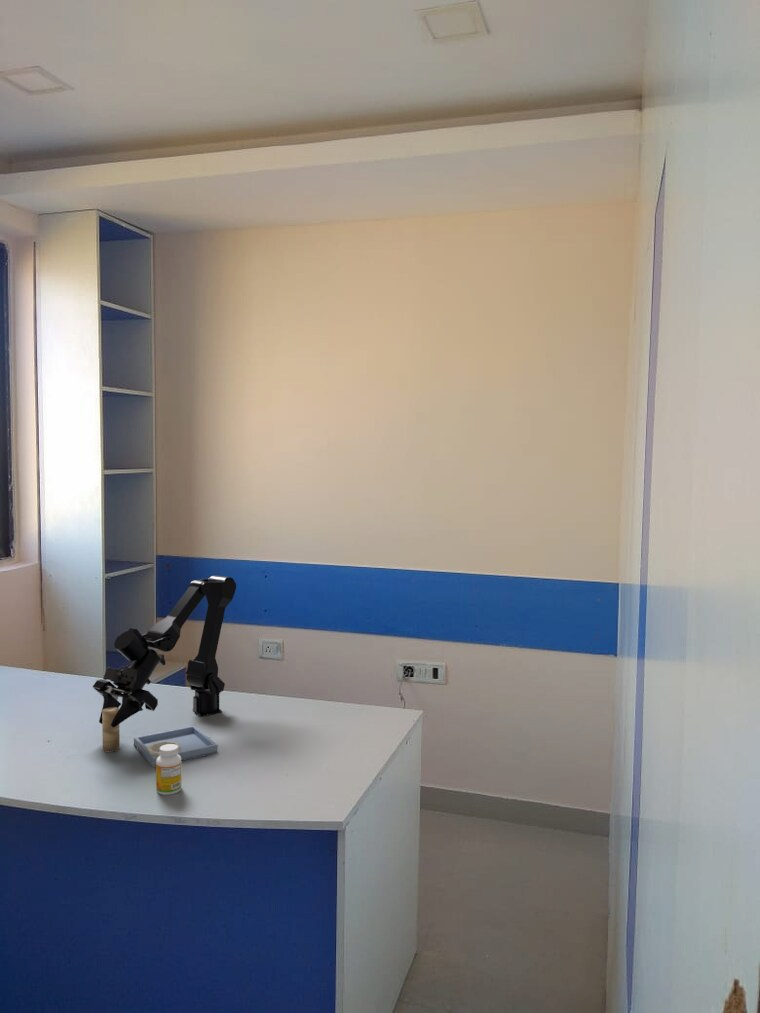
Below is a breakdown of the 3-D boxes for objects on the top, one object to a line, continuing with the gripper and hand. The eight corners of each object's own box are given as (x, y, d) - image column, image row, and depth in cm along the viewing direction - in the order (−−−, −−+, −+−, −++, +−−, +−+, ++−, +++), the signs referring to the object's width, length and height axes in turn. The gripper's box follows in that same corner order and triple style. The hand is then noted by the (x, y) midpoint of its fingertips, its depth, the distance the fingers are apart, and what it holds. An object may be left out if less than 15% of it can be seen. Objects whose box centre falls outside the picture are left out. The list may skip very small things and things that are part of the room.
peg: (117, 744, 193) (116, 706, 193) (121, 749, 190) (121, 710, 189) (100, 747, 191) (100, 708, 190) (104, 753, 188) (104, 713, 187)
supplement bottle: (159, 784, 170) (158, 742, 170) (183, 784, 171) (183, 742, 170) (153, 795, 165) (153, 752, 164) (179, 795, 165) (179, 751, 165)
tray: (194, 732, 202) (194, 723, 202) (217, 752, 189) (217, 742, 189) (133, 744, 193) (133, 735, 193) (153, 766, 180) (153, 756, 180)
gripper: (98, 648, 197) (61, 701, 188) (148, 659, 188) (112, 716, 179) (122, 671, 204) (88, 723, 196) (172, 682, 195) (139, 738, 186)
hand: (106, 724), depth 189 cm, fingers closed on peg, 4 cm apart
